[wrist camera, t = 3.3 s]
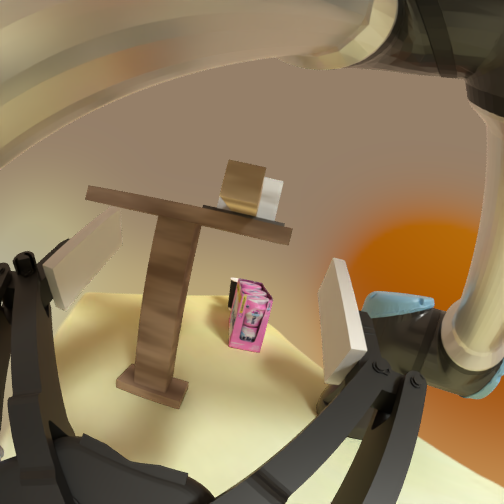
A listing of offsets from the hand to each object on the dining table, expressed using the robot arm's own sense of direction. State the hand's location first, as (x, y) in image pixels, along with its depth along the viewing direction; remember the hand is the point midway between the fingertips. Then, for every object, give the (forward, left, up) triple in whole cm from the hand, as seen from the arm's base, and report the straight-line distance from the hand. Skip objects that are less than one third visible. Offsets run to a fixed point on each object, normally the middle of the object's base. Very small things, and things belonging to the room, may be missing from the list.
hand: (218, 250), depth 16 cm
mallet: (-14, -8, +4) cm, 17 cm away
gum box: (-51, -24, -25) cm, 61 cm away
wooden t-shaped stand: (-15, -18, -25) cm, 34 cm away
